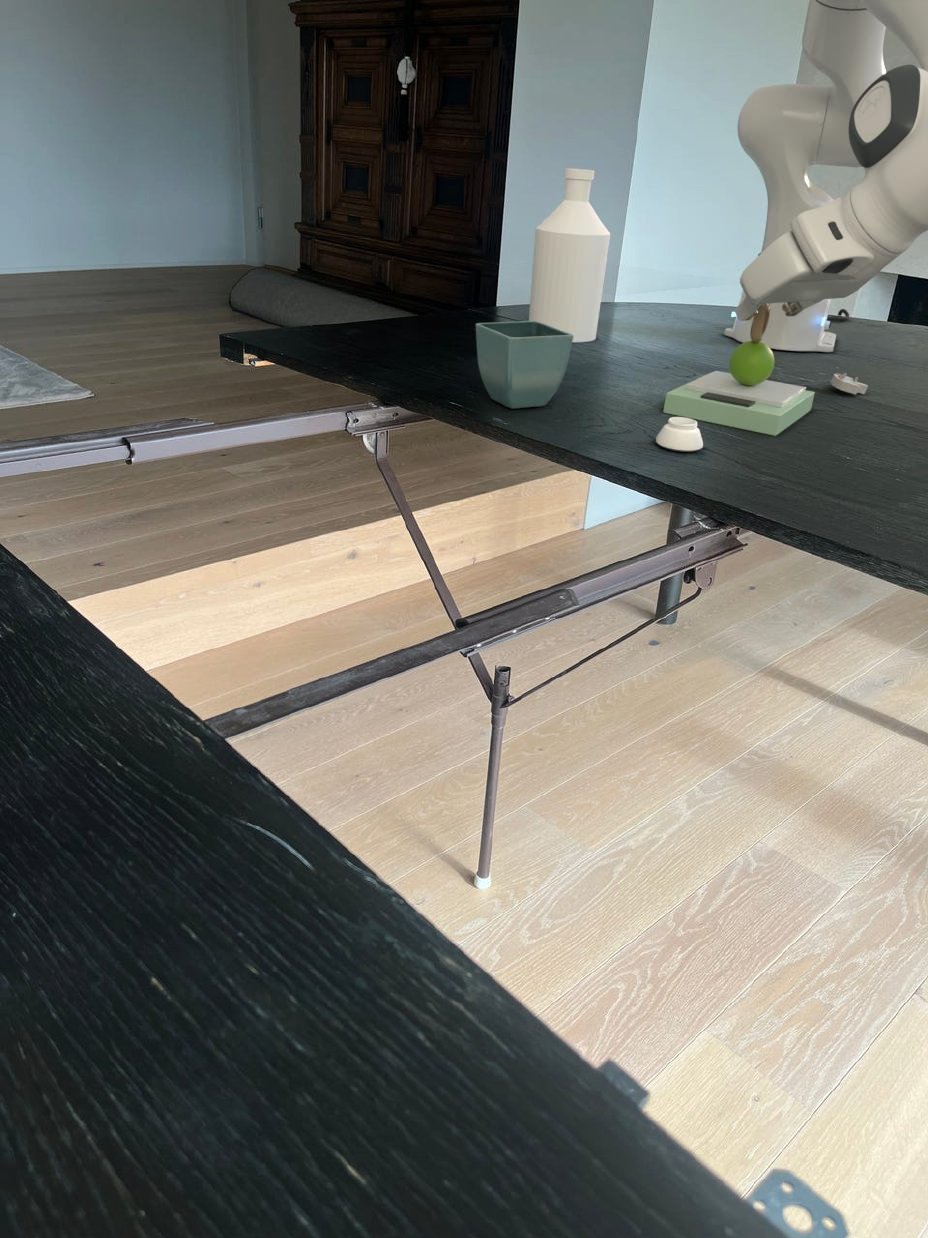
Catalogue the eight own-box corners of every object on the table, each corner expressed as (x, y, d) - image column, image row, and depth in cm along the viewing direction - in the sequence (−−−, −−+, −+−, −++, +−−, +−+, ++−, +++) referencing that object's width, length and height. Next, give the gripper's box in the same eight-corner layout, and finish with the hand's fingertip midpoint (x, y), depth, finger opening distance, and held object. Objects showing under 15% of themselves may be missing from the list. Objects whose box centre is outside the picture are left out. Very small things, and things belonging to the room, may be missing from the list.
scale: (707, 390, 130) (711, 368, 129) (810, 410, 124) (816, 387, 122) (663, 412, 118) (667, 388, 116) (775, 435, 111) (781, 410, 110)
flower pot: (503, 415, 111) (510, 336, 107) (468, 396, 118) (473, 322, 114) (567, 410, 115) (575, 334, 111) (529, 392, 122) (536, 320, 118)
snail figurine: (721, 387, 118) (740, 286, 113) (728, 377, 124) (746, 280, 118) (766, 394, 117) (787, 291, 111) (771, 383, 122) (792, 285, 117)
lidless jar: (646, 443, 105) (679, 456, 101) (650, 417, 104) (684, 429, 100) (677, 438, 108) (711, 450, 104) (681, 412, 106) (716, 424, 103)
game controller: (873, 397, 133) (878, 378, 132) (796, 396, 131) (801, 377, 130) (852, 387, 138) (856, 368, 136) (778, 385, 136) (781, 367, 134)
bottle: (528, 325, 165) (544, 165, 153) (597, 332, 164) (618, 171, 152) (523, 338, 154) (538, 167, 143) (596, 345, 153) (618, 173, 142)
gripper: (893, 213, 111) (802, 288, 123) (790, 212, 100) (700, 294, 111) (918, 259, 110) (824, 330, 122) (817, 263, 99) (723, 341, 110)
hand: (764, 313), depth 116 cm, fingers open, 8 cm apart
